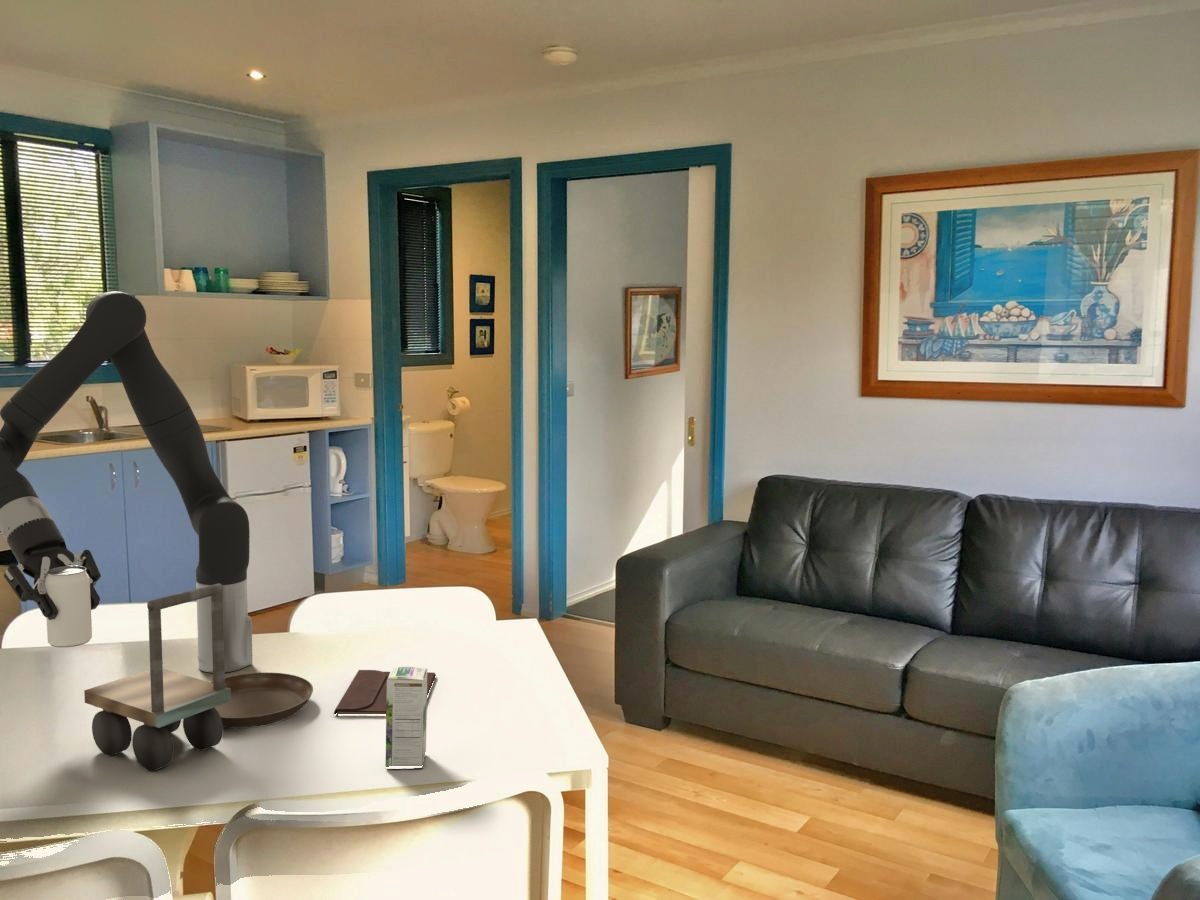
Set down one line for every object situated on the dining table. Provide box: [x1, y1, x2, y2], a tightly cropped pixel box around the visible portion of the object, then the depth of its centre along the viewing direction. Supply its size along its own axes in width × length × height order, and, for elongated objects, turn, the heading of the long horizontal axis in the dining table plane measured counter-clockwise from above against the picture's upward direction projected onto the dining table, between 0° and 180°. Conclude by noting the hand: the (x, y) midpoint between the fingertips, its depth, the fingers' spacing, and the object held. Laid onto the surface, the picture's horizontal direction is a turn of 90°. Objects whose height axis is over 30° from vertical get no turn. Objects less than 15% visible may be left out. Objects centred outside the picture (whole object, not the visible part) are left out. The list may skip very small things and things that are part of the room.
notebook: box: [333, 669, 437, 715], centre depth 188 cm, size 15×20×2 cm
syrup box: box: [385, 665, 428, 767], centre depth 159 cm, size 6×6×14 cm
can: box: [45, 565, 93, 648], centre depth 167 cm, size 6×6×12 cm
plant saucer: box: [210, 672, 314, 729], centre depth 180 cm, size 21×21×3 cm
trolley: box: [83, 583, 231, 772], centre depth 160 cm, size 18×13×27 cm
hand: (75, 611), depth 167 cm, fingers closed on can, 6 cm apart
